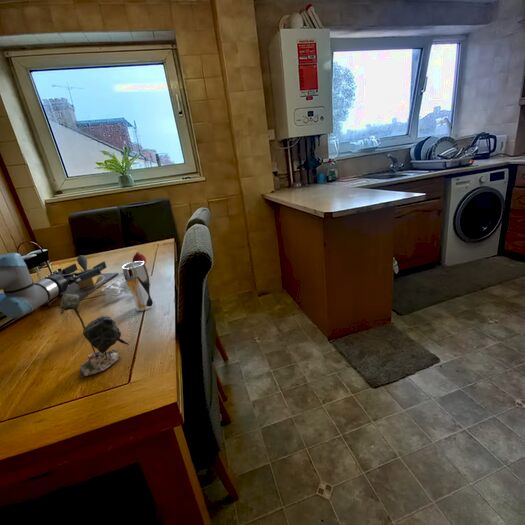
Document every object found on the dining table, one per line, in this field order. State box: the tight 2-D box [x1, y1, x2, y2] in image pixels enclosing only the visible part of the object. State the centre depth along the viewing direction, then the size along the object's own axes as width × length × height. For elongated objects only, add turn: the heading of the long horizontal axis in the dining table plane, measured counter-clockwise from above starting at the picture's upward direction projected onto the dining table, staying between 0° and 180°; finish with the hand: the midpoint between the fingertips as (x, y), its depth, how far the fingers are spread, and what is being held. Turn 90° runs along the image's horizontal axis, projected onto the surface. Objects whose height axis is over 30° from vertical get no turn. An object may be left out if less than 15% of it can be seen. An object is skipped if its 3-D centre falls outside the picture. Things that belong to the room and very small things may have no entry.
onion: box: [132, 251, 147, 265], centre depth 129 cm, size 6×6×8 cm
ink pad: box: [60, 292, 88, 302], centre depth 104 cm, size 7×5×2 cm
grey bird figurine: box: [59, 294, 130, 378], centre depth 63 cm, size 8×11×20 cm
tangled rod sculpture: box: [100, 277, 132, 297], centre depth 110 cm, size 19×14×4 cm
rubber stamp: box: [76, 254, 100, 288], centre depth 115 cm, size 10×6×12 cm, turn 18°
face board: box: [57, 272, 119, 297], centre depth 118 cm, size 20×20×1 cm
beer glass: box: [121, 261, 156, 312], centre depth 90 cm, size 7×7×15 cm
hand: (90, 265), depth 118 cm, fingers open, 13 cm apart
